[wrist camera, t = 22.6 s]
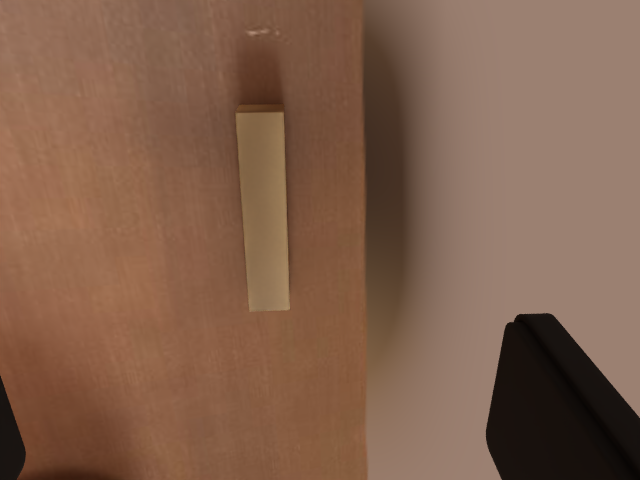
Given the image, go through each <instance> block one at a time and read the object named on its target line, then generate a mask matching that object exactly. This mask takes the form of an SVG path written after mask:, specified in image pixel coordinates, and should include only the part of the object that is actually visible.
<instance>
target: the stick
mask: <svg viewBox="0 0 640 480" xmlns="http://www.w3.org/2000/svg"><path fill="white" fill-rule="evenodd" d="M235 118H236V133H237V147H238V162H239V176H240V191H241V205H242V219H243V234H244V248H245V263H246V277H247V291H248V306H249V311H279V310H290V287H289V254H288V220H287V187H286V153H285V120H284V104H240V105H239V106H238V108H237V110H236V112H235Z"/></svg>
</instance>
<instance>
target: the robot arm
mask: <svg viewBox="0 0 640 480" xmlns="http://www.w3.org/2000/svg"><path fill="white" fill-rule="evenodd" d="M486 441H487V445H488V449H489V452H490V454H491V456H492V458H493V461H494V463H495V465H496V467H497V470H498V472H499V474H500V477H501V479H502V480H640V418H639V416H638V415H637V414H636V413H635V412H634V411H633V409H632V408H631V407H630V406H629V405H628V403H627V402H626V401H625V400H624V399H623V398H622V396H621V395H620V394H619V393H618V392H617V390H616V389H615V388H614V387H613V386H612V384H611V383H610V382H609V381H608V380H607V378H606V377H605V376H604V375H603V374H602V372H601V371H600V370H599V369H598V368H597V367H596V365H595V364H594V363H593V362H592V361H591V359H590V358H589V357H588V356H587V355H586V353H584V351H583V350H582V349H581V348H580V346H579V345H578V344H577V343H576V342H575V340H574V339H573V338H572V337H571V336H570V334H569V333H568V332H567V331H566V330H565V328H564V327H563V326H562V325H561V324H560V322H559V321H558V320H557V319H556V318H555V317H554V316H553V315H552V314H548V313H546V314H545V313H543V314H519V315H517V316H516V318H515V320H514V322H509V323H507V325H506V327H505V331H504V337H503V341H502V347H501V352H500V358H499V363H498V369H497V374H496V379H495V385H494V390H493V395H492V401H491V406H490V412H489V417H488V422H487V428H486ZM25 457H26V451H25V447H24V444H23V441H22V438H21V435H20V432H19V429H18V426H17V423H16V420H15V417H14V414H13V411H12V408H11V405H10V402H9V399H8V396H7V394H6V391H5V388H4V385H3V382H2V379H1V376H0V480H17V478H18V476H19V474H20V473H21V471H22V469H23V466H24V463H25Z"/></svg>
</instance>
